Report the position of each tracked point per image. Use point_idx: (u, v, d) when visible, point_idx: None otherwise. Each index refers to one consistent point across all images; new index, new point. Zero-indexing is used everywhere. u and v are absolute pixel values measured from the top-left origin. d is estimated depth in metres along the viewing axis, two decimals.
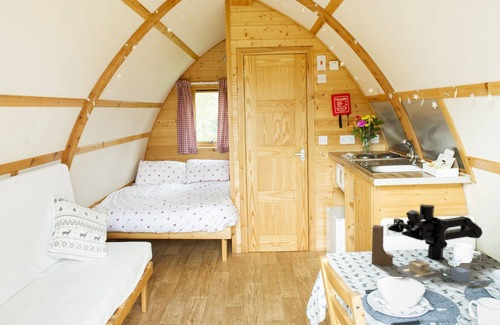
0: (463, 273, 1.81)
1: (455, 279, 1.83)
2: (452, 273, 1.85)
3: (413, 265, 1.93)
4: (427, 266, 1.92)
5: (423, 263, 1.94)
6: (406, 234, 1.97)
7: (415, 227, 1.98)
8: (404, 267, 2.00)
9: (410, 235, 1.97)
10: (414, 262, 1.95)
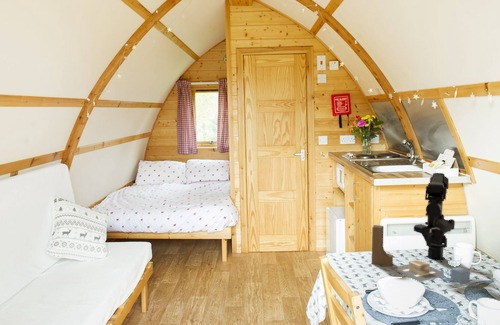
0: (463, 273, 1.81)
1: (455, 279, 1.83)
2: (452, 273, 1.85)
3: (413, 265, 1.93)
4: (427, 266, 1.92)
5: (423, 263, 1.94)
6: None
7: (445, 232, 1.95)
8: (404, 267, 2.00)
9: None
10: (414, 262, 1.95)
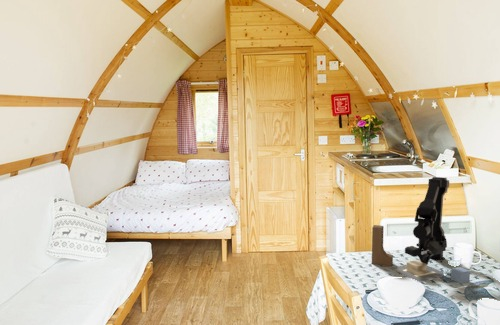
0: (463, 273, 1.81)
1: (455, 279, 1.83)
2: (452, 273, 1.85)
3: (411, 266, 1.93)
4: (425, 266, 1.92)
5: (421, 263, 1.93)
6: None
7: (432, 255, 1.93)
8: (404, 267, 2.00)
9: None
10: (412, 263, 1.94)
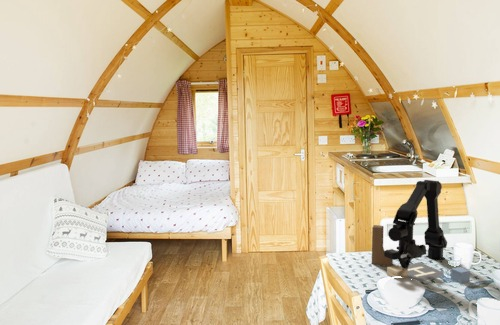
0: (463, 273, 1.81)
1: (455, 279, 1.83)
2: (452, 273, 1.85)
3: (391, 271, 1.88)
4: (405, 272, 1.87)
5: (401, 268, 1.89)
6: None
7: (412, 258, 1.89)
8: None
9: None
10: (392, 268, 1.90)
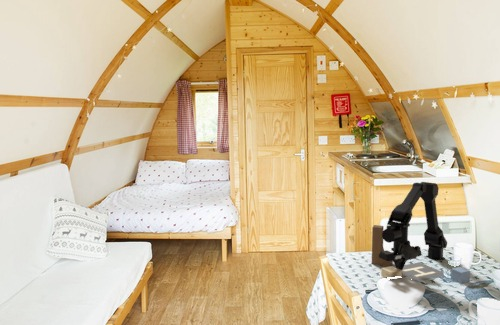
0: (463, 273, 1.81)
1: (455, 279, 1.83)
2: (452, 273, 1.85)
3: (385, 272, 1.88)
4: (399, 273, 1.86)
5: (396, 269, 1.88)
6: None
7: (407, 259, 1.88)
8: (404, 267, 2.00)
9: None
10: (386, 269, 1.89)
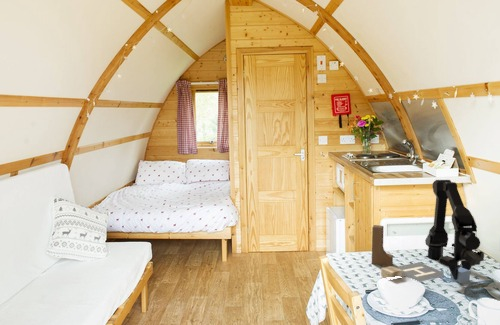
0: (463, 273, 1.81)
1: None
2: None
3: (385, 272, 1.87)
4: (399, 273, 1.87)
5: (396, 269, 1.88)
6: None
7: None
8: (404, 267, 2.00)
9: None
10: (386, 269, 1.89)
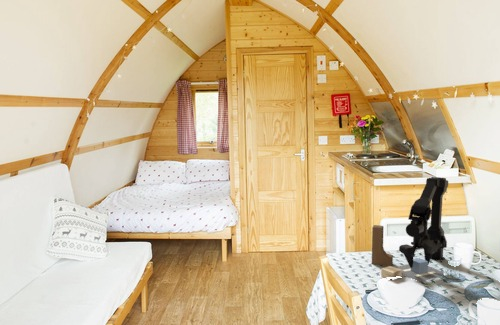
0: (421, 263, 1.91)
1: (414, 269, 1.94)
2: None
3: (386, 272, 1.87)
4: (400, 272, 1.87)
5: (396, 269, 1.88)
6: None
7: (434, 252, 1.94)
8: (404, 267, 2.00)
9: None
10: (386, 269, 1.88)
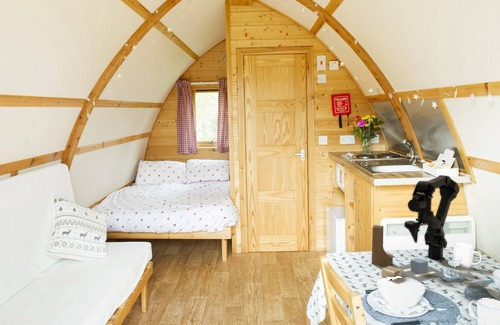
0: (421, 263, 1.91)
1: (414, 269, 1.94)
2: (411, 264, 1.95)
3: (386, 272, 1.87)
4: (400, 272, 1.87)
5: (396, 269, 1.88)
6: None
7: (437, 228, 2.03)
8: (404, 267, 2.00)
9: None
10: (386, 269, 1.88)
